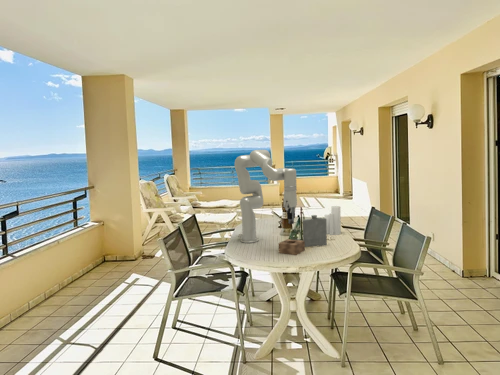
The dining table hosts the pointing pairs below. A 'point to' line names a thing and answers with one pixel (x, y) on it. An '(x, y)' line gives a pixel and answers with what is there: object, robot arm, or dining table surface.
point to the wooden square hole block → (291, 246)
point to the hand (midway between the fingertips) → (291, 218)
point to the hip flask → (315, 231)
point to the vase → (334, 221)
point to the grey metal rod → (291, 221)
